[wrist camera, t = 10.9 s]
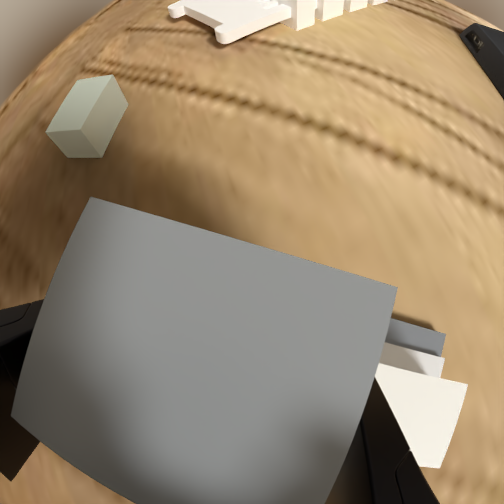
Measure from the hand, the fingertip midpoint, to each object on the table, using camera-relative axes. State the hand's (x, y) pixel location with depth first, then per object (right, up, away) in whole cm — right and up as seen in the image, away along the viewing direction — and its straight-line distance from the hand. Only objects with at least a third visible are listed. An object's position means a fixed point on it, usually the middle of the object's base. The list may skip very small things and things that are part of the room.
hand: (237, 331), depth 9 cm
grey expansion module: (0, -4, +7) cm, 8 cm away
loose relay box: (-13, +13, +16) cm, 24 cm away
